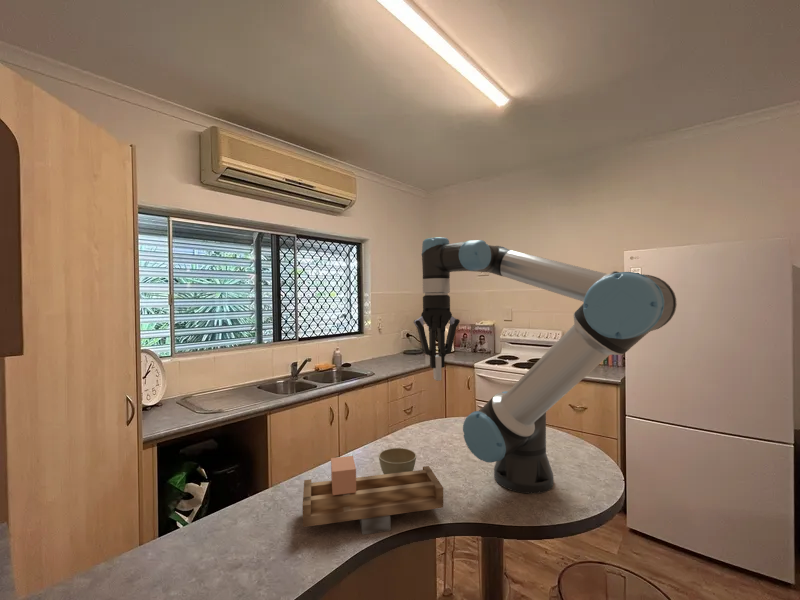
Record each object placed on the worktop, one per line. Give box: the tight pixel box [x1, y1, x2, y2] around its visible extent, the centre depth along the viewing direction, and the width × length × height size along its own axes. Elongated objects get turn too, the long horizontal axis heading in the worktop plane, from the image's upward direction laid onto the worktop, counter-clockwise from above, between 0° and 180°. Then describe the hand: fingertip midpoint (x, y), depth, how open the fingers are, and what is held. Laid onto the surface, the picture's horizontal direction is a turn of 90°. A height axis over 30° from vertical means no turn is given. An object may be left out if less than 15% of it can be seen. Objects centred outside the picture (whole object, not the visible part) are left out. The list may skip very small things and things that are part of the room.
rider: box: [330, 455, 357, 495], centre depth 84 cm, size 5×7×7 cm
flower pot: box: [378, 447, 417, 475], centre depth 102 cm, size 10×10×7 cm
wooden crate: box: [302, 465, 444, 535], centre depth 86 cm, size 30×12×8 cm, turn 102°
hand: (437, 379), depth 105 cm, fingers closed
